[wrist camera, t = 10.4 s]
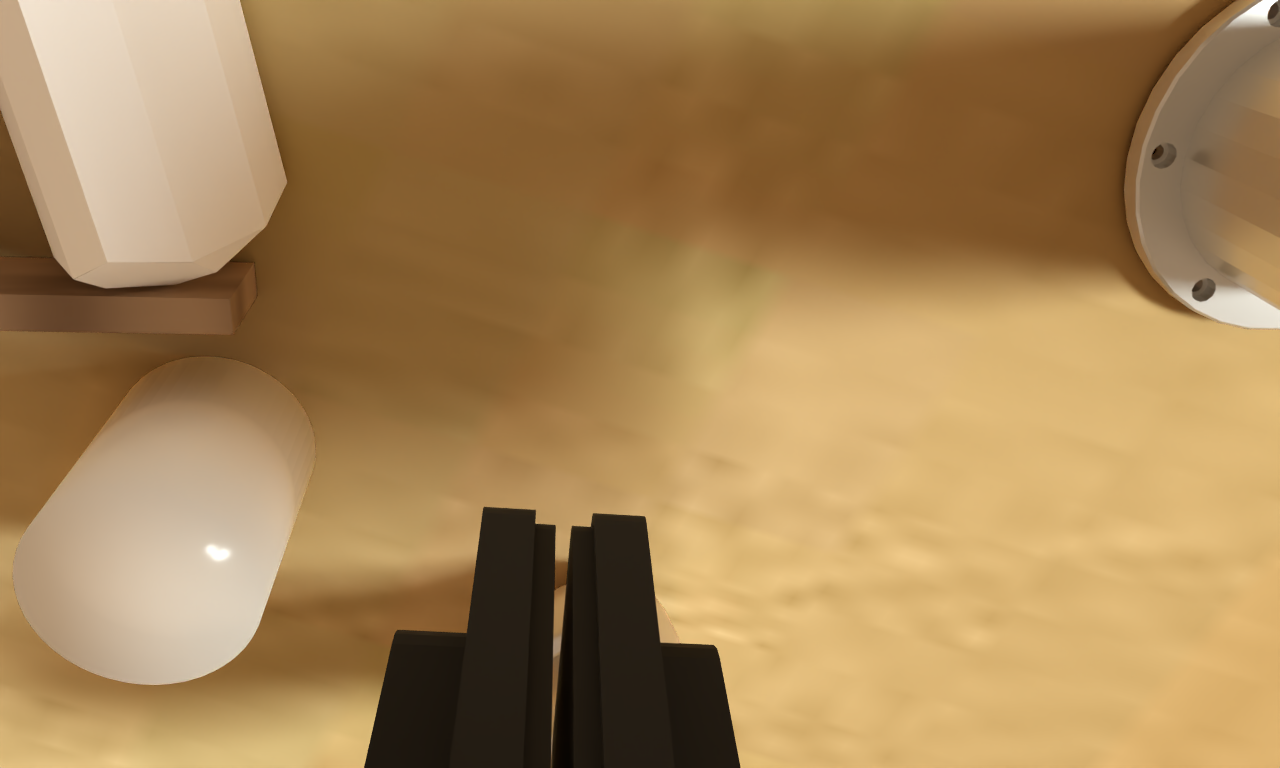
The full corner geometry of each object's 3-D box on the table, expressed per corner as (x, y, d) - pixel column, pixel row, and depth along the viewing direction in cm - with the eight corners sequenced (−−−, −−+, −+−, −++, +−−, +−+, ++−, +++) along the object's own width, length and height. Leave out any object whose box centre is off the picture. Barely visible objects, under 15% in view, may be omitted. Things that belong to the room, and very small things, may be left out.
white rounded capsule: (309, 357, 40) (254, 485, 32) (321, 527, 43) (273, 683, 35) (103, 354, 39) (-8, 484, 31) (128, 526, 42) (34, 686, 34)
